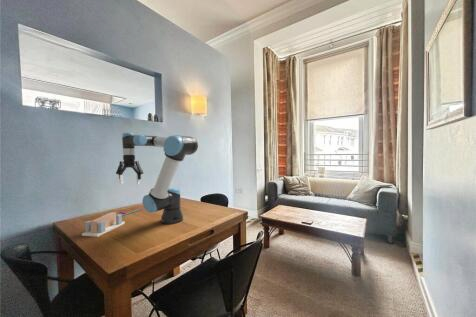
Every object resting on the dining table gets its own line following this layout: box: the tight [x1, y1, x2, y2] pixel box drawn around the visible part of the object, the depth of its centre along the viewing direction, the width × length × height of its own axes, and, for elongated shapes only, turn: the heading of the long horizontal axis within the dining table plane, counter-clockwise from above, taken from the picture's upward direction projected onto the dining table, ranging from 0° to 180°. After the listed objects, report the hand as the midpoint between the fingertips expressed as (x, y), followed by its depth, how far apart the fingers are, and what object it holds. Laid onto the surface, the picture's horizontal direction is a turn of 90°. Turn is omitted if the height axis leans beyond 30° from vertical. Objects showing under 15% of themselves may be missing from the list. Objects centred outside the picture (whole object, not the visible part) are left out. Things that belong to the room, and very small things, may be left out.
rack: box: [81, 213, 125, 238], centre depth 130 cm, size 11×22×7 cm, turn 170°
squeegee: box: [118, 208, 143, 217], centre depth 162 cm, size 29×2×10 cm
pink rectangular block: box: [89, 211, 117, 233], centre depth 130 cm, size 4×18×7 cm, turn 178°
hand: (130, 183), depth 145 cm, fingers open, 13 cm apart
